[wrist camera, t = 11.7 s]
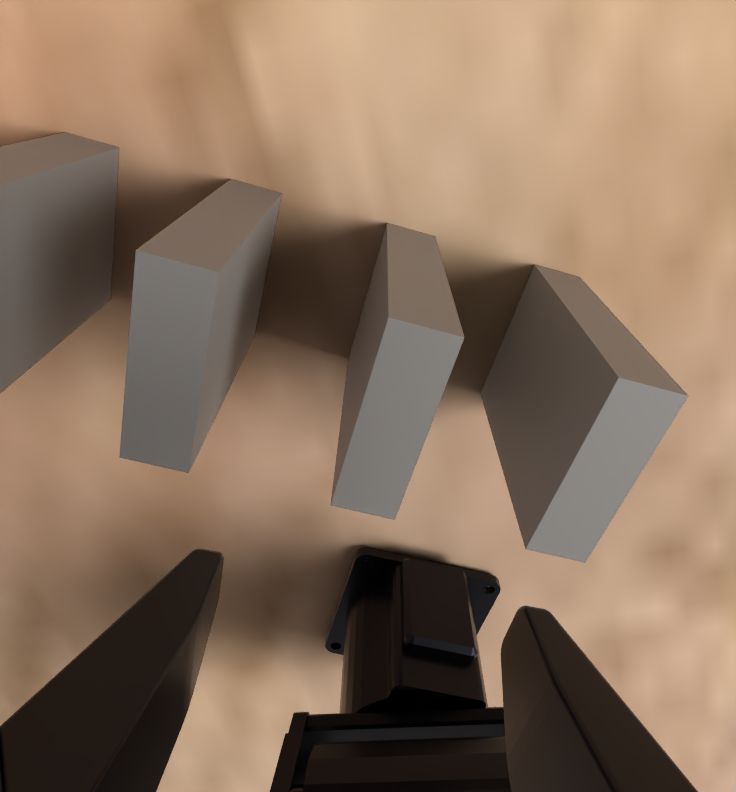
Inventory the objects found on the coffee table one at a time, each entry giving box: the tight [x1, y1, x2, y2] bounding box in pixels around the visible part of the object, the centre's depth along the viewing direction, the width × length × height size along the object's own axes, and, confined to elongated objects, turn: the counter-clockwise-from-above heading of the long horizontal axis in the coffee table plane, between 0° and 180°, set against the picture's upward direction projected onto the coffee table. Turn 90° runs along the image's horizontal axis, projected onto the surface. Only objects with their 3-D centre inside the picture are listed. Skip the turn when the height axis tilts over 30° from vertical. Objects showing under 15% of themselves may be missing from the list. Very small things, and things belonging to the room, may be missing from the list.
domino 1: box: [0, 132, 119, 393], centre depth 16 cm, size 5×2×8 cm, turn 165°
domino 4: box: [481, 265, 688, 563], centre depth 17 cm, size 5×2×8 cm, turn 165°
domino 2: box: [120, 179, 282, 473], centre depth 16 cm, size 5×2×8 cm, turn 165°
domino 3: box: [331, 223, 465, 520], centre depth 17 cm, size 5×2×8 cm, turn 165°
